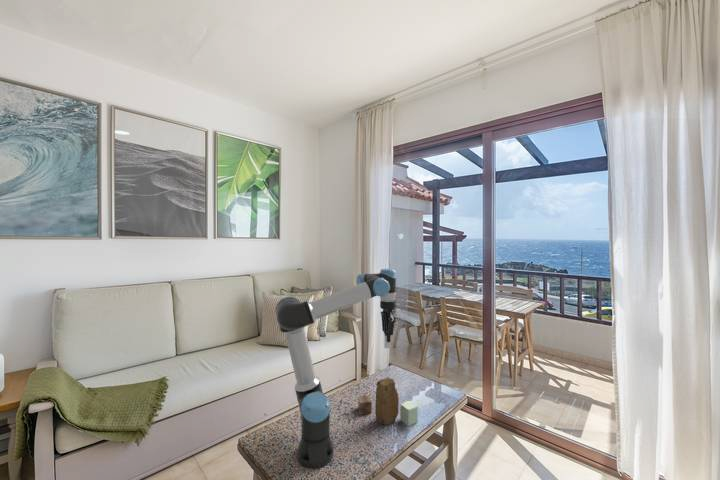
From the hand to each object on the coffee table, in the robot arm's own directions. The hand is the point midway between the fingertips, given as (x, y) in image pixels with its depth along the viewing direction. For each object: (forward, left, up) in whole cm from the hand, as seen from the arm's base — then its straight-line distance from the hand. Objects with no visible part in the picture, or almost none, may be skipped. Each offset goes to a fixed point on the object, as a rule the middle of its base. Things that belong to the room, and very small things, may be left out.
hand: (387, 347), depth 150 cm
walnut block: (-8, +11, -36) cm, 39 cm away
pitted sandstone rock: (0, 0, -37) cm, 37 cm away
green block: (+10, -4, -36) cm, 38 cm away
